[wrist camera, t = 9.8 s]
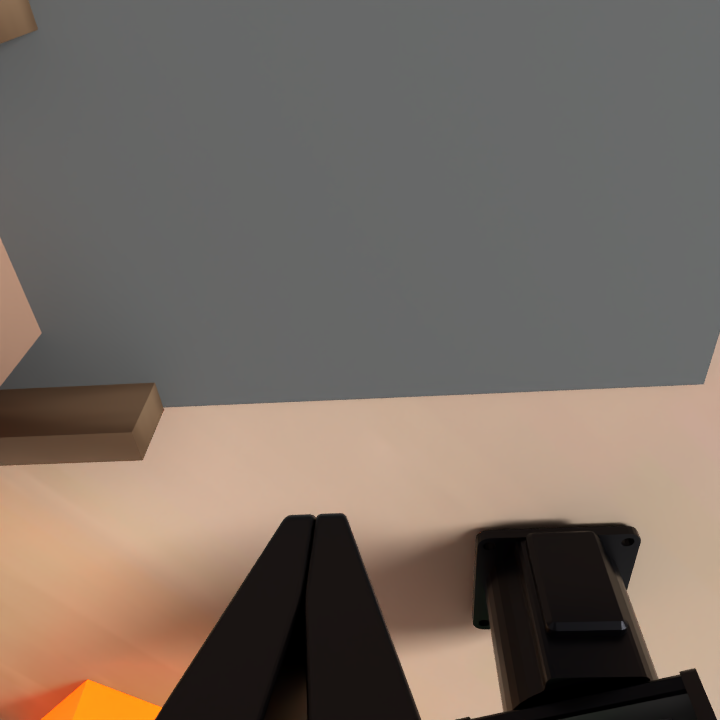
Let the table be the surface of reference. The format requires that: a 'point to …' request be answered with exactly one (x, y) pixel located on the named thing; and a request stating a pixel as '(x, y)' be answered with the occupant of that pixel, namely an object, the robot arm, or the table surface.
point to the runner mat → (364, 195)
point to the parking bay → (74, 403)
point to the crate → (13, 318)
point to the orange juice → (102, 705)
